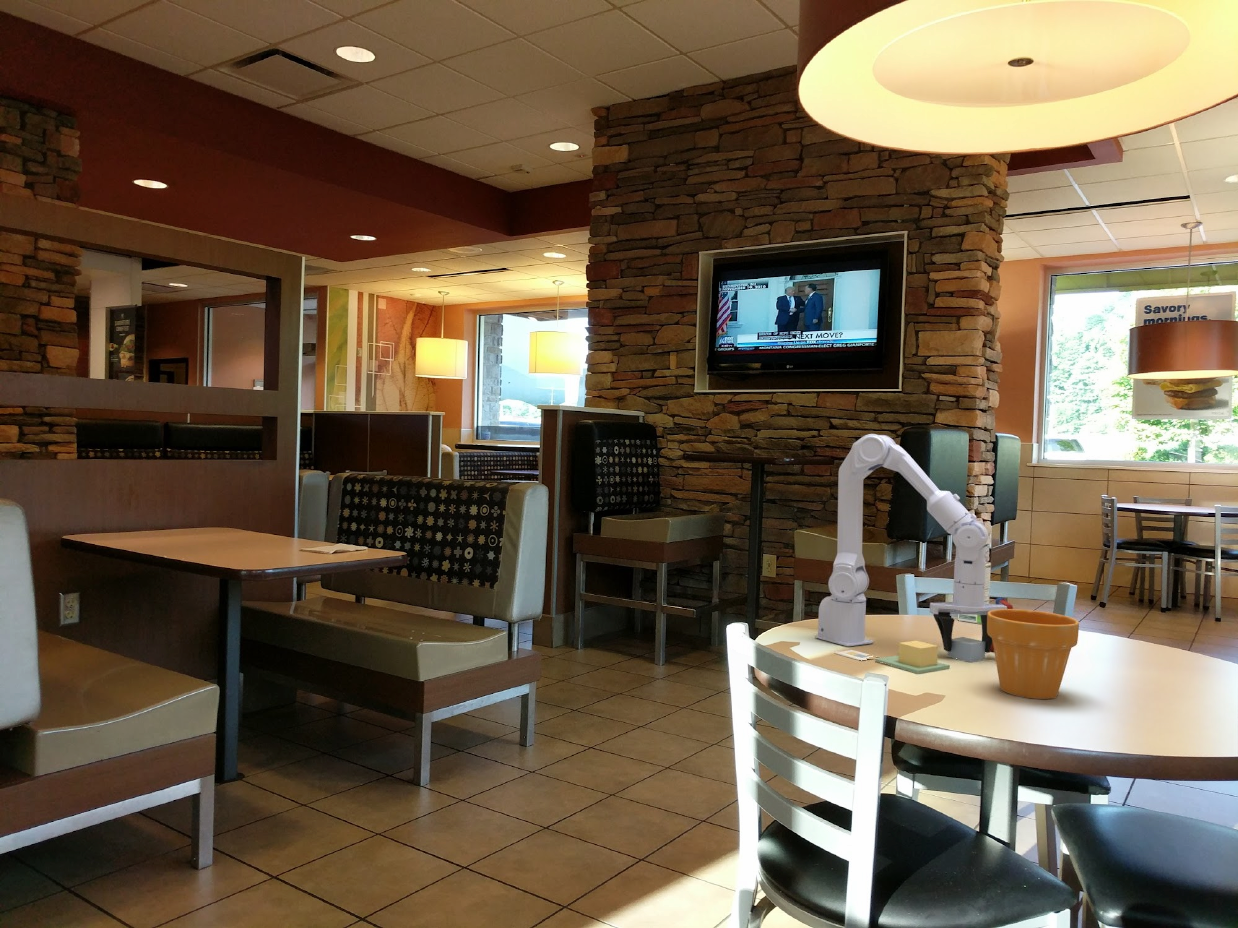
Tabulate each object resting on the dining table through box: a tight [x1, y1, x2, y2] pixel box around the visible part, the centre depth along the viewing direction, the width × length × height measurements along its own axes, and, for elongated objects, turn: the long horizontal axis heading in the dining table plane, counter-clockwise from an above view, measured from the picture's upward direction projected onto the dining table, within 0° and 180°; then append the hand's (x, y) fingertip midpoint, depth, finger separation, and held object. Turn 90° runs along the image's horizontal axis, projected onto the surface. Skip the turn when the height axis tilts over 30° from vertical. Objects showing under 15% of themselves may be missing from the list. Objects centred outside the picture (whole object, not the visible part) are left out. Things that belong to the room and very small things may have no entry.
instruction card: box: [834, 649, 874, 662], centre depth 175 cm, size 7×5×1 cm
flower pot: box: [987, 608, 1080, 700], centre depth 152 cm, size 14×14×13 cm
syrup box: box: [957, 561, 992, 625], centre depth 216 cm, size 6×6×14 cm
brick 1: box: [897, 640, 939, 667], centre depth 168 cm, size 5×5×4 cm
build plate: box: [874, 655, 951, 675], centre depth 169 cm, size 10×9×1 cm
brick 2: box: [947, 636, 986, 663], centre depth 176 cm, size 5×5×4 cm
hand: (966, 650), depth 176 cm, fingers closed on brick 2, 7 cm apart
